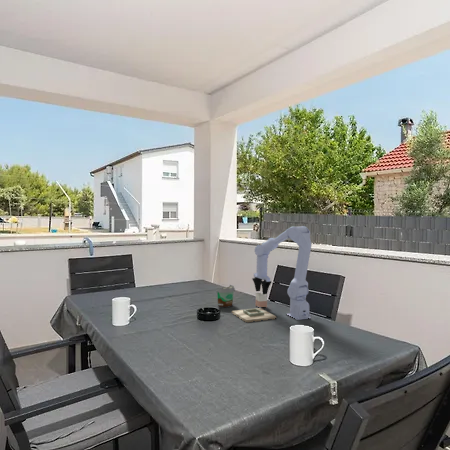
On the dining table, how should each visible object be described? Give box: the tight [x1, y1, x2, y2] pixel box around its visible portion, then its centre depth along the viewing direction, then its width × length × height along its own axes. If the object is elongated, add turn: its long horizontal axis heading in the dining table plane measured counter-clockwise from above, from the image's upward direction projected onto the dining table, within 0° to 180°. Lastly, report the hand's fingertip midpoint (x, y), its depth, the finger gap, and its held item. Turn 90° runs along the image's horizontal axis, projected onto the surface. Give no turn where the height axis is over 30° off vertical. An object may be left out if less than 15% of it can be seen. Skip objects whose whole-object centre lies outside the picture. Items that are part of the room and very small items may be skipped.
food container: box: [216, 284, 236, 308], centre depth 194 cm, size 12×6×10 cm, turn 143°
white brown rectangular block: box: [255, 292, 268, 308], centre depth 193 cm, size 4×4×7 cm
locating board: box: [231, 307, 277, 323], centre depth 175 cm, size 16×16×2 cm
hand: (261, 292), depth 193 cm, fingers open, 7 cm apart
